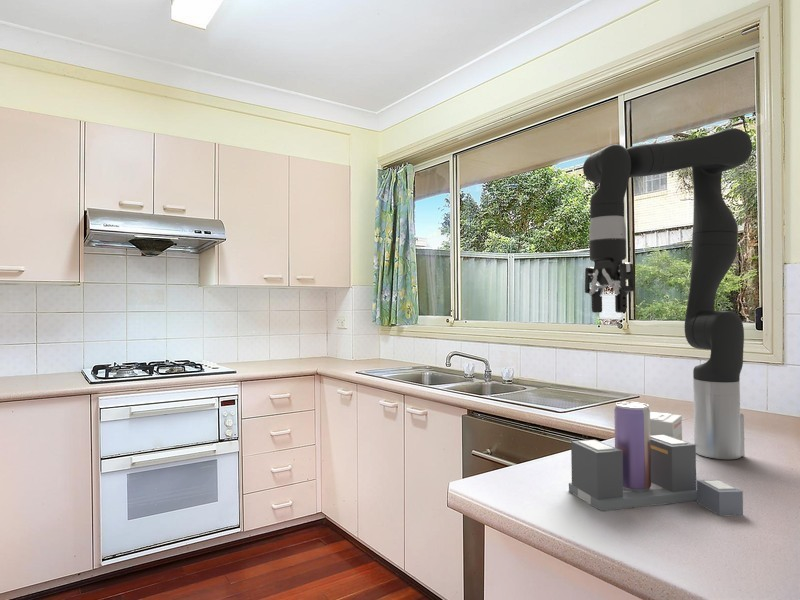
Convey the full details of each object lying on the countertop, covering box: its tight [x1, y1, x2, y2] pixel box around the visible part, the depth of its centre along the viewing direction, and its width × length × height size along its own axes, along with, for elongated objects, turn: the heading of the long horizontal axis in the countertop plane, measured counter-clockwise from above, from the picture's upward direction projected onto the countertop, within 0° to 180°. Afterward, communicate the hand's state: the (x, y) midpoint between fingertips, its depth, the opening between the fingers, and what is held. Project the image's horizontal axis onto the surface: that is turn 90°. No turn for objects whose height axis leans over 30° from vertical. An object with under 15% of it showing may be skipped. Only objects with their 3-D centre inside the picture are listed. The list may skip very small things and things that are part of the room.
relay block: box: [696, 479, 744, 517], centre depth 90 cm, size 6×4×4 cm, turn 3°
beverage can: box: [613, 401, 651, 492], centre depth 96 cm, size 6×6×15 cm
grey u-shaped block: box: [568, 435, 697, 512], centre depth 96 cm, size 20×10×10 cm, turn 103°
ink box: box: [650, 411, 683, 441], centre depth 110 cm, size 9×8×12 cm
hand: (608, 312), depth 116 cm, fingers open, 8 cm apart
